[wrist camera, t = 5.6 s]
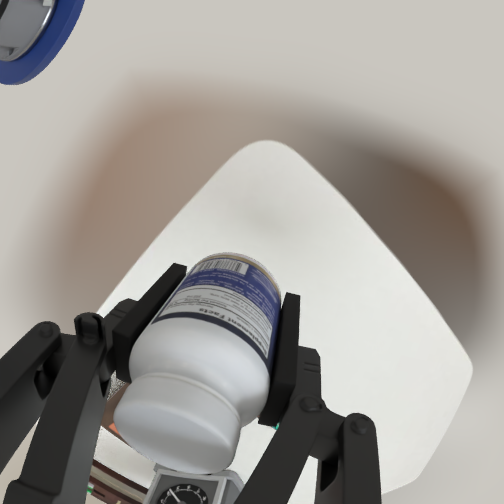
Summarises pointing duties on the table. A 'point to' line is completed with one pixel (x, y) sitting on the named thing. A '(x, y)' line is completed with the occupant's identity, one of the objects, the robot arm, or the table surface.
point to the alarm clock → (193, 487)
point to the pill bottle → (203, 366)
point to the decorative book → (113, 486)
